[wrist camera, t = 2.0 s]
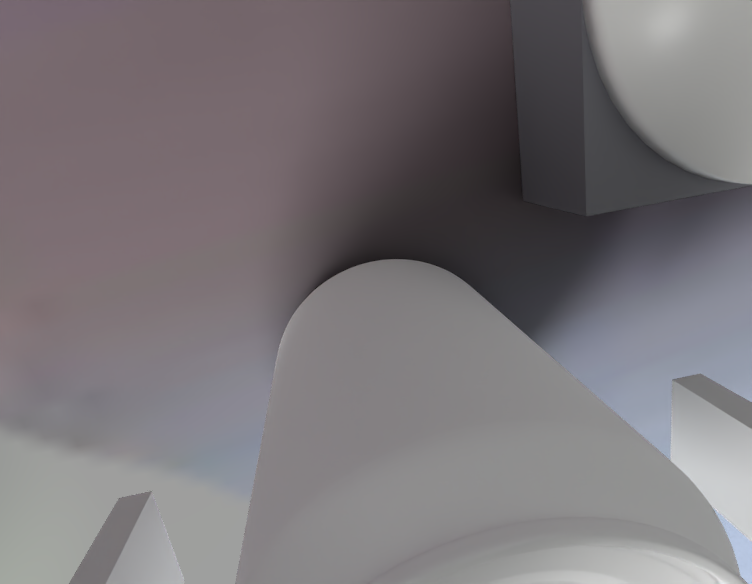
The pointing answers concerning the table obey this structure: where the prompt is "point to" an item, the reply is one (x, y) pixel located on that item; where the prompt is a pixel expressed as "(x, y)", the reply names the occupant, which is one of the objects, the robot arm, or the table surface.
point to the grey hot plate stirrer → (632, 100)
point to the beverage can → (455, 454)
